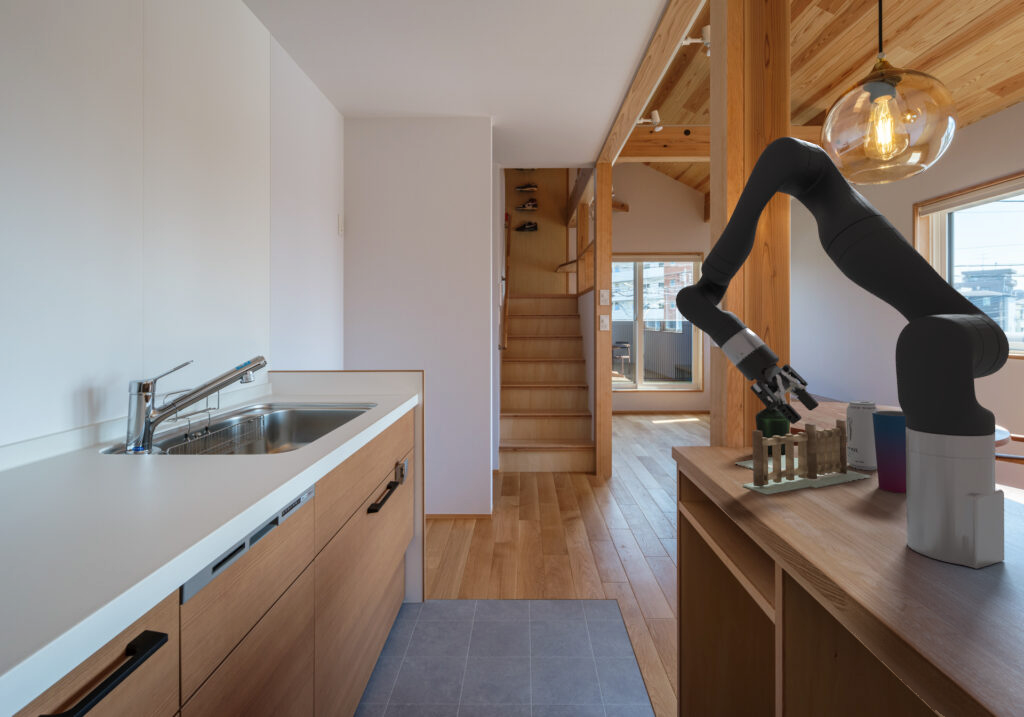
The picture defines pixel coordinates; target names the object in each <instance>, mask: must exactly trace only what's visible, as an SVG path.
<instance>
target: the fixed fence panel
mask: <svg viewBox="0 0 1024 717" xmlns="http://www.w3.org/2000/svg"><path fill="white" fill-rule="evenodd" d="M835 424H836V425H835V426H836V427H831V428H823V429H817V424H816V423H812V422H805V423H804V433H806V434H808V440H806V454H807V467H808V473H807V478H808V479H817V474H818V475H825V473H827V474H831V473H833V472H836V473H837V472H838V473H842V474H847V470H848V464H847V463H848V462H847V419H842V418H841V419H839V418H838V419H836V420H835Z"/></svg>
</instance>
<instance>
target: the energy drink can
mask: <svg viewBox="0 0 1024 717" xmlns="http://www.w3.org/2000/svg"><path fill="white" fill-rule="evenodd" d="M845 411H846V415H845V416H846V443H847V463H848V464H849V466H851V468H852V467H853V469H855V468H856V470H861V469H862V471H863V470H864V471H875V470H877V461H876V450H875V439H874V427H873V416H872V412H873V411H880V410H879V408H878V407H877V405H876V402H875V401H873V400H850V401H849V404H848V406H847V407H846V410H845Z"/></svg>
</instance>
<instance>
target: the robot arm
mask: <svg viewBox="0 0 1024 717" xmlns="http://www.w3.org/2000/svg"><path fill="white" fill-rule="evenodd" d="M777 193H782V194H786V195H789V196H790V197H791V196H792V197H793V198H795V199H796V200H797V201H799V203H801V204H802V205H803V206H804V207H805V208H806V209H807V210H808V211H809V213H811V215H812V216H813V217H814V219H815V221H816V222H815V223H816V225H817V234H818V238H819V242H820V244H821V247H822V249H823V250H824V252H825V253H826V255H827V256H828V257H829V259H830V260H831V261H832V262H833V263H834V264H835V266H836V268H838V269H839V271H840V272H841V273H842V274H843V275H844V276H845V277H846V278H847V279H849V280H850V281H851V282H852V283H854V284H856V285H857V286H858V287H860V288H862V289H863V290H865V291H866V292H868V293H869V294H871V295H873V296H874V297H876V298H878V299H880V300H882V301H883V302H885V303H886V304H888V305H889V306H891V307H892V308H893V309H895V310H896V311H897V312H899V314H900V315H902V316H903V318H905V320H907V322H908V323H907V324H906V325H905V326H904V327H903V328H902V329H901V331H900V332H899V335H898V338H897V340H896V343H895V344H896V345H895V352H894V353H895V372H896V374H895V375H896V387H897V388H896V389H897V399H898V400H897V401H898V404H899V406H900V410H901V411H903V413H904V415H905V419H906V493H905V495H906V544H907V545H908V548H910V549H912V550H913V551H915V552H916V553H919V554H921V555H923V556H926V557H928V558H931V559H935V560H938V561H941V562H944V563H945V562H947V563H950V564H957V565H963V566H966V567H970V568H972V569H980V568H981V569H982V568H984V567H987V566H991V565H995V564H997V563H1000V562H1004V561H1005V492H1004V490H1002V489H1001V488H996V417H995V414H994V413H993V412H992V411H991V410H990V409H987V408H985V407H984V406H983V405H981V404H980V403H979V401H978V399H977V396H976V390H975V389H976V388H975V386H976V385H975V379H980V378H984V377H988V376H991V375H994V374H995V373H997V372H998V371H1000V370H1001V369H1002V368H1003V367H1004V366H1005V364H1006V363H1007V361H1008V359H1009V357H1010V356H1009V354H1010V344H1009V340H1008V336H1007V335H1006V333H1005V331H1004V330H1003V329H1002V327H1001V326H1000V325H999V324H998V323H997V321H995V320H994V319H992V318H991V317H990V316H989V315H988V314H987V313H985V312H984V311H983V310H982V309H980V308H979V307H978V306H977V305H975V304H974V303H973V302H971V301H970V300H969V299H968V298H966V297H965V296H964V295H963V294H962V293H960V292H959V291H958V290H957V289H956V288H954V287H953V286H952V285H951V284H949V283H948V282H947V280H945V278H943V277H942V275H940V273H938V271H936V269H935V268H934V267H933V266H932V265H931V264H930V263H929V261H927V259H926V258H924V256H923V255H922V254H921V253H919V251H918V250H917V249H916V248H915V247H914V246H913V245H912V244H911V243H910V242H909V241H908V240H907V238H905V236H904V235H903V234H902V233H901V232H900V231H899V230H898V229H897V228H896V226H894V225H893V223H892V222H890V221H889V220H888V218H887V217H886V216H885V215H884V214H883V213H881V212H880V210H878V209H877V208H876V207H875V206H874V205H873V204H872V203H871V202H870V201H869V200H868V199H867V198H866V197H864V195H862V194H861V193H860V192H858V191H857V190H856V189H855V188H854V187H853V186H852V185H851V184H850V183H849V182H848V181H847V179H846V177H845V176H844V175H843V174H842V172H841V171H840V169H839V167H838V166H837V165H836V164H835V161H833V159H832V158H831V156H830V155H829V154H828V152H827V151H825V149H823V147H821V146H819V145H818V144H815V143H812V142H808V141H806V140H802V139H799V138H796V137H791V136H781V137H779V138H776V139H774V140H773V141H772V142H770V143H769V144H768V145H767V146H766V147H765V149H764V150H763V151H762V152H761V154H760V155H759V158H758V159H757V161H756V162H755V165H754V166H753V168H752V171H751V173H750V175H749V177H748V180H747V181H746V184H745V185H744V188H743V190H742V192H741V194H740V196H739V199H738V200H737V202H736V205H735V208H734V210H733V212H732V214H731V216H730V218H729V220H728V222H727V224H726V226H725V228H724V229H723V231H722V233H721V235H720V236H719V238H717V239H718V240H717V241H716V243H715V244H714V245H713V247H712V249H711V250H710V252H709V253H708V254H707V256H706V258H705V259H704V261H703V262H702V265H701V268H700V271H701V276H700V278H699V280H698V281H697V282H696V283H695V284H691V285H688V286H685V287H682V288H681V289H680V290H679V291H678V292H677V293H676V296H675V305H676V309H677V310H678V312H679V313H680V315H681V316H682V317H683V318H684V319H685V320H687V321H688V322H689V323H691V324H692V325H693V326H695V327H696V328H697V329H698V330H700V331H702V332H704V333H705V334H707V335H708V336H709V337H710V339H711V340H713V342H714V343H715V344H716V345H717V346H718V347H719V348H720V349H721V351H722V352H723V353H724V355H725V356H726V357H727V359H728V360H729V361H730V362H731V363H732V364H733V365H734V366H735V367H736V369H737V370H738V371H739V372H740V373H741V375H743V376H744V377H745V378H746V379H747V381H749V382H752V381H756V382H755V383H753V384H752V385H751V386H750V390H751V391H752V392H753V393H754V394H755V396H756V397H757V398H758V399H759V400H760V402H761V403H763V406H765V408H766V407H767V408H768V409H769V410H772V409H775V410H779V411H780V412H781V413H782V414H783V415H784V416H785V417H786V418H787V420H788V421H789V422H790V424H792V425H794V424H796V423H798V422H799V421H801V420H802V415H800V413H798V411H796V410H795V408H794V407H793V406H792V405H791V404H790V403H789V402H788V401H787V399H786V396H785V395H786V394H787V393H789V394H791V395H793V396H796V399H798V401H799V402H800V403H801V404H802V405H804V407H805V408H806V409H807V410H808V411H811V412H812V411H813V410H814V409H816V408H817V407H819V406H820V405H819V403H818V401H817V400H816V399H815V398H814V397H813V396H812V395H811V394H810V393H809V392H808V391H807V387H808V385H809V383H808V382H807V381H806V380H805V379H804V378H803V377H802V376H801V375H800V374H799V373H798V372H797V371H796V370H795V369H794V368H793V367H792V366H790V364H788V363H785V364H784V365H783V366H781V367H780V366H779V365H778V362H779V361H780V357H779V356H778V355H777V354H776V353H775V352H774V351H773V349H771V348H770V346H768V345H767V344H766V343H765V342H764V341H763V339H761V338H760V337H759V336H758V334H756V333H755V332H754V331H752V330H751V329H750V328H749V327H748V326H747V325H746V324H745V323H744V322H743V321H742V320H741V319H740V318H739V317H738V316H737V315H736V314H735V313H734V312H732V311H729V310H728V311H727V310H723V309H720V308H719V307H718V305H719V304H720V303H721V301H722V300H723V298H724V297H725V294H726V292H727V290H728V288H729V285H730V284H731V281H732V280H733V278H734V277H735V276H736V274H737V273H738V272H739V270H740V269H741V267H742V266H743V265H744V263H745V262H746V261H747V259H748V257H749V256H750V254H751V252H752V249H753V247H754V245H755V244H754V243H755V239H756V235H757V234H756V233H757V230H758V229H757V228H758V224H759V220H760V218H761V216H762V212H763V210H764V209H766V207H767V205H768V203H769V202H770V200H772V198H773V197H774V196H775V194H777ZM766 398H768V400H770V401H771V403H770V402H769V401H768V400H767V399H766ZM779 399H780V400H779Z"/></svg>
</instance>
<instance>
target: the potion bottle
mask: <svg viewBox="0 0 1024 717" xmlns="http://www.w3.org/2000/svg"><path fill="white" fill-rule="evenodd" d="M766 399H767V400H768V398H766ZM779 400H780V399H779ZM768 401H769V402H770V403H771V401H770V400H768ZM790 424H791V423H790V422H789V421H788V420H787V418H786V417H785V416H784V415H783V414H782V413H781V412H780V411H779V410H775V409H772V410H769V409H768V408H767V407H766V406H765V408H763V409H761V410H760V411H758V412H757V413H756V415H755V425H756V426H755V427H756V430H758V431H762V437H765V438H772V436H776V435H777V436H781V437H783V436H785V434H790V427H791V426H790ZM770 455H772V445H770V446H768V456H770ZM781 455H785V443H784V444H781Z"/></svg>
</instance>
